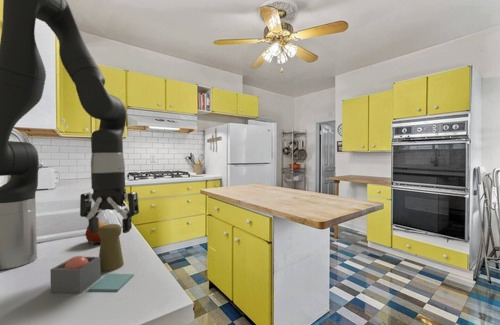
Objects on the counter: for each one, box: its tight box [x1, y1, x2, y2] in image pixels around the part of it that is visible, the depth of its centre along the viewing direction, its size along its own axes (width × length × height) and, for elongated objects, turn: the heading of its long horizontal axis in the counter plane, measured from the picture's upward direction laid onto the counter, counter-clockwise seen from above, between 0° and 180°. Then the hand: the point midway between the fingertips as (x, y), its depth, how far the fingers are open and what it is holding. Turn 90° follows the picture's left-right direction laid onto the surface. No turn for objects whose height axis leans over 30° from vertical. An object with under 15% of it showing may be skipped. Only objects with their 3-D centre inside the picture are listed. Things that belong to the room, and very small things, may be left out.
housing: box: [50, 256, 102, 294], centre depth 53 cm, size 6×6×5 cm
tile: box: [87, 273, 135, 292], centre depth 54 cm, size 6×6×1 cm
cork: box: [98, 223, 125, 273], centre depth 62 cm, size 6×6×11 cm
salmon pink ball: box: [64, 255, 89, 268], centre depth 53 cm, size 5×5×5 cm
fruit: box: [85, 221, 109, 247], centre depth 79 cm, size 8×8×8 cm
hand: (110, 232), depth 61 cm, fingers open, 8 cm apart
